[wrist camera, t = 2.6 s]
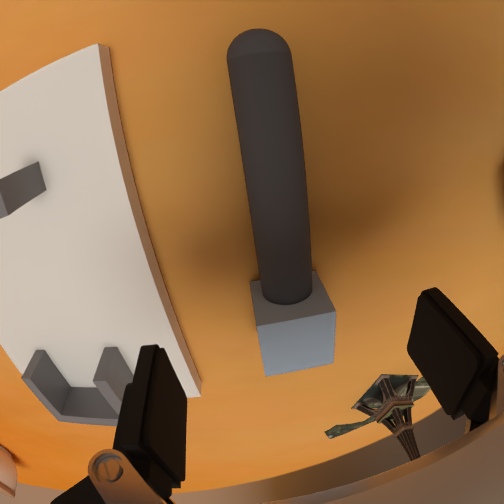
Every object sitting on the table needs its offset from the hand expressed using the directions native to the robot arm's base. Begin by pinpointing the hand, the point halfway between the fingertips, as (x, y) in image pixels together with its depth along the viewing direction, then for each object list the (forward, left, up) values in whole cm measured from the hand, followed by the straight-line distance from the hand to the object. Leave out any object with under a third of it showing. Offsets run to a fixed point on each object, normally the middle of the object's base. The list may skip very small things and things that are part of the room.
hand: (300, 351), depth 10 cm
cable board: (-1, -14, -8) cm, 17 cm away
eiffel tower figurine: (+18, +10, -9) cm, 23 cm away
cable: (-3, +1, -8) cm, 8 cm away
